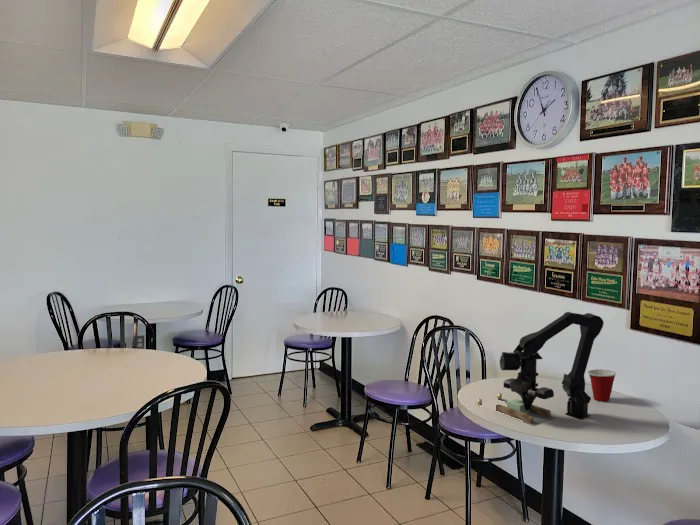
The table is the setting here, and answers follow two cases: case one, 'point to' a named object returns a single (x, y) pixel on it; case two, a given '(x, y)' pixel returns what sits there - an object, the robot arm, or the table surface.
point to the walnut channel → (522, 415)
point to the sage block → (517, 405)
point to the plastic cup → (601, 383)
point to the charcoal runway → (537, 418)
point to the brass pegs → (498, 399)
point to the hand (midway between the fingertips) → (527, 410)
